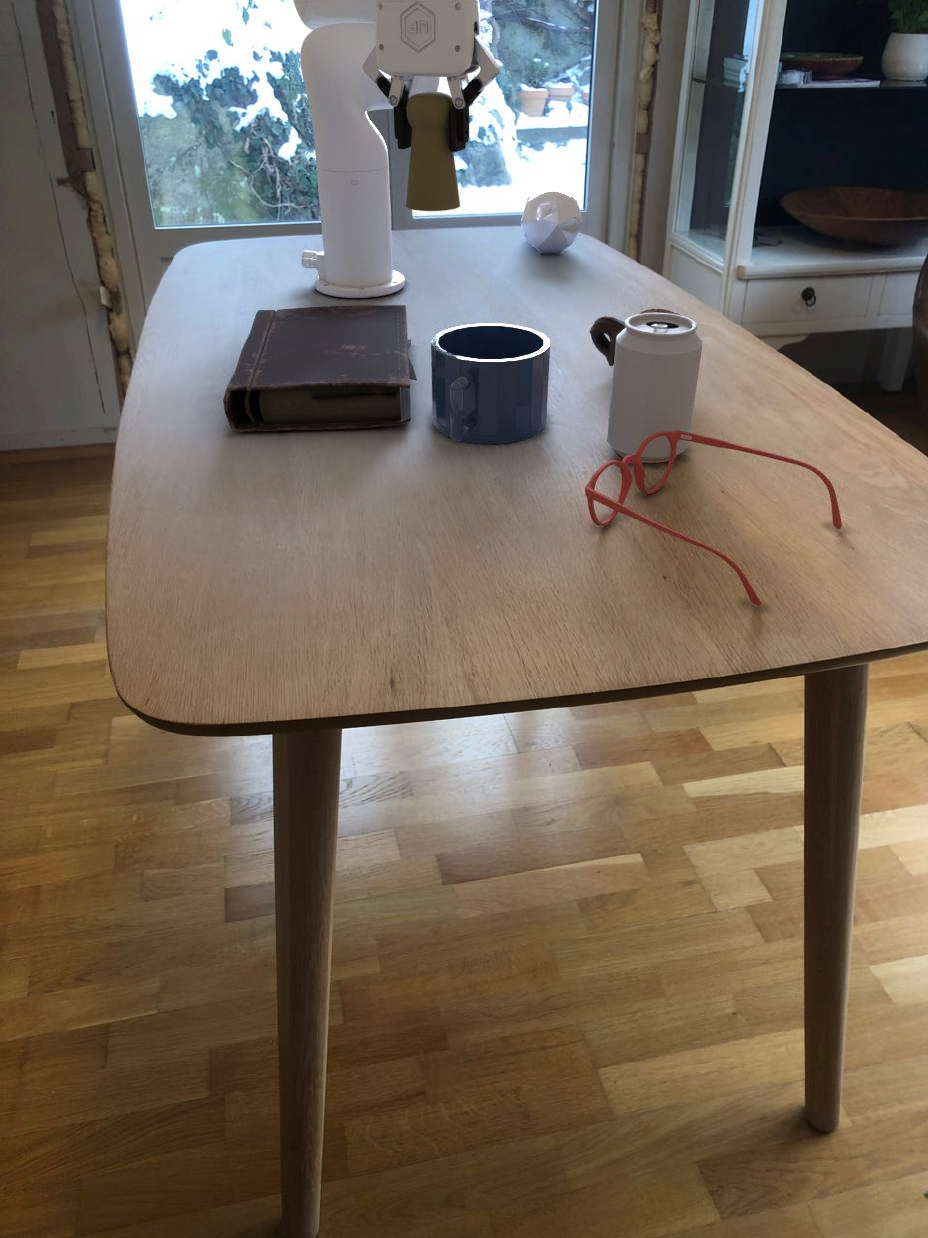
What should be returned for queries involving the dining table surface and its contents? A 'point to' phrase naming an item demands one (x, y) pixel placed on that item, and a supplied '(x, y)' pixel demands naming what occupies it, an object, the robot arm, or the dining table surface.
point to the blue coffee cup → (490, 383)
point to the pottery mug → (612, 333)
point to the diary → (323, 370)
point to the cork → (431, 154)
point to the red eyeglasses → (640, 474)
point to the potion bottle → (551, 220)
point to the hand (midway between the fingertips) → (431, 146)
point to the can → (653, 384)
